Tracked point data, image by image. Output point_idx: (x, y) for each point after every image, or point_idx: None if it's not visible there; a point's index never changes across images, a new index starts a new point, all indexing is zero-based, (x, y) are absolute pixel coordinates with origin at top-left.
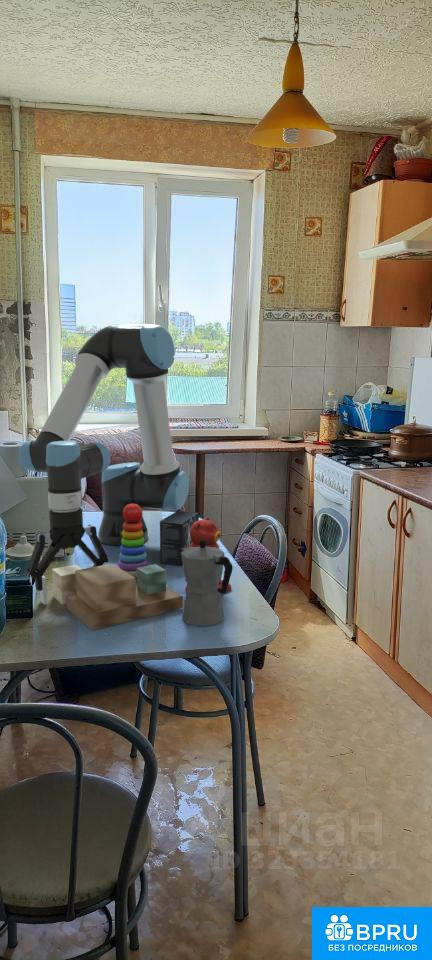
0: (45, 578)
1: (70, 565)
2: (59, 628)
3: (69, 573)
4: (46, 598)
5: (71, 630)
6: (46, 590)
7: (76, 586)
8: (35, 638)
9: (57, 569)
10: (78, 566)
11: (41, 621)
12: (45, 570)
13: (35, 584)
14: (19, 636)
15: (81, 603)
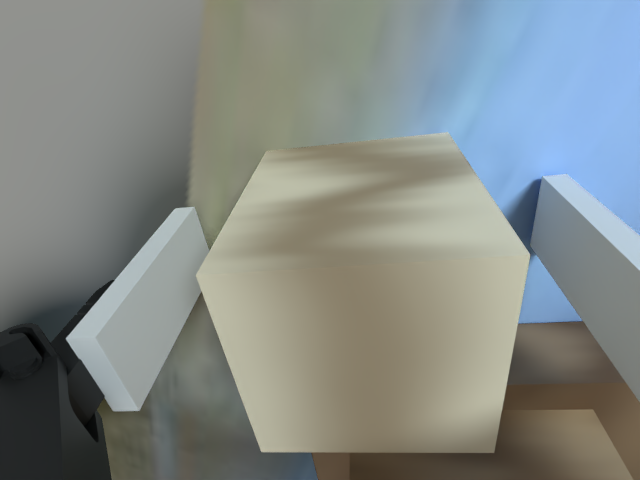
0: (140, 402)
1: (445, 263)
2: (241, 454)
3: (343, 438)
4: (199, 289)
5: (276, 475)
6: (182, 325)
7: (349, 473)
8: (162, 471)
9: (257, 316)
10: (513, 330)
11: (181, 394)
12: (105, 471)
13: (84, 312)
14: (110, 447)
15: (341, 477)
